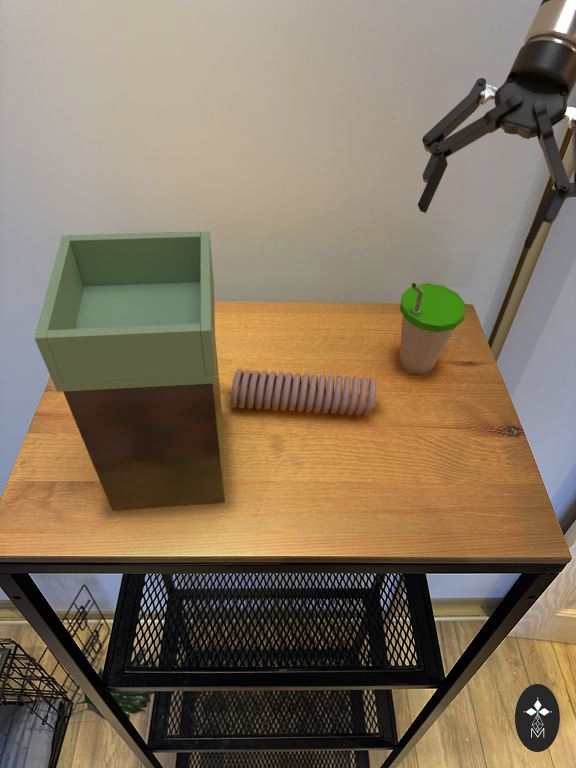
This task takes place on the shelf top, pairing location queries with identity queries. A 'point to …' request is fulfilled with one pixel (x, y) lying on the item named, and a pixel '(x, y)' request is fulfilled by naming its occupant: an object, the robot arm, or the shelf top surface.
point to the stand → (154, 443)
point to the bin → (130, 312)
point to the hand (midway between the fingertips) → (472, 227)
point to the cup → (427, 325)
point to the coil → (303, 392)
